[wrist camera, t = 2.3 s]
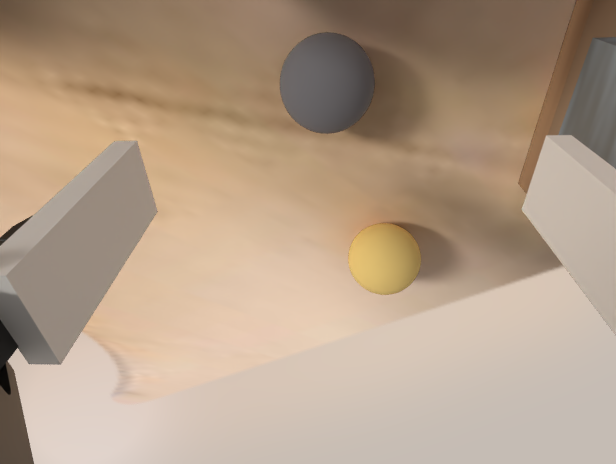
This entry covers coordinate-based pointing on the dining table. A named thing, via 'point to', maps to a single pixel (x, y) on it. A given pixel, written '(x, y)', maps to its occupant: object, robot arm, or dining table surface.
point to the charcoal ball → (327, 83)
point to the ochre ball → (384, 258)
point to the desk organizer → (581, 86)
